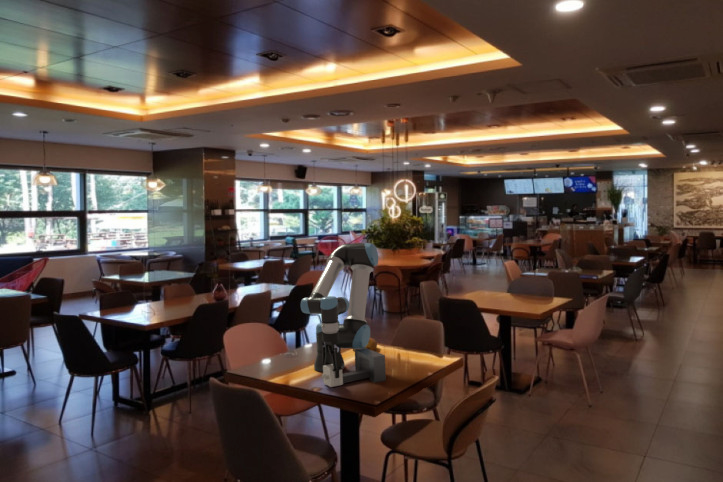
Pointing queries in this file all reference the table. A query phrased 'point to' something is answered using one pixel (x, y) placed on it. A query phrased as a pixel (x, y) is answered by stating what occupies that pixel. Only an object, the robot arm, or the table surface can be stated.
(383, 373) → the cable tunnel
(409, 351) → the table surface
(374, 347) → the golden lumpy mound
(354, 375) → the plug
